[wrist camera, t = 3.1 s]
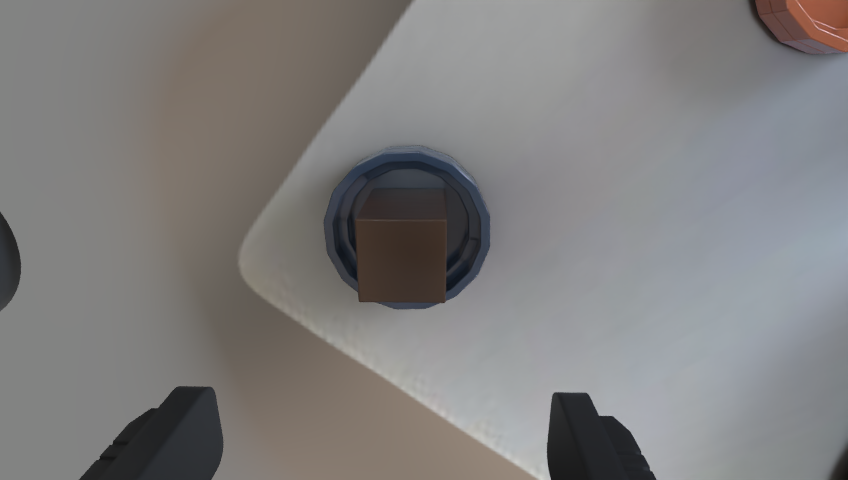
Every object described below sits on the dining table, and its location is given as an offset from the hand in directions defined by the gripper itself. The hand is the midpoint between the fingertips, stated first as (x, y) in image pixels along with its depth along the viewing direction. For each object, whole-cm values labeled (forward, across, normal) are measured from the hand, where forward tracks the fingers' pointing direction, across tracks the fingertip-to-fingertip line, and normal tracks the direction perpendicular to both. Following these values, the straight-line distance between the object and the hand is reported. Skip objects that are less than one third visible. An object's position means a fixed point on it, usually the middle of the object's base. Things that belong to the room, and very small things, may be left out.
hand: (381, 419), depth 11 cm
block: (+16, 0, 0) cm, 16 cm away
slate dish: (+17, 0, 0) cm, 17 cm away
